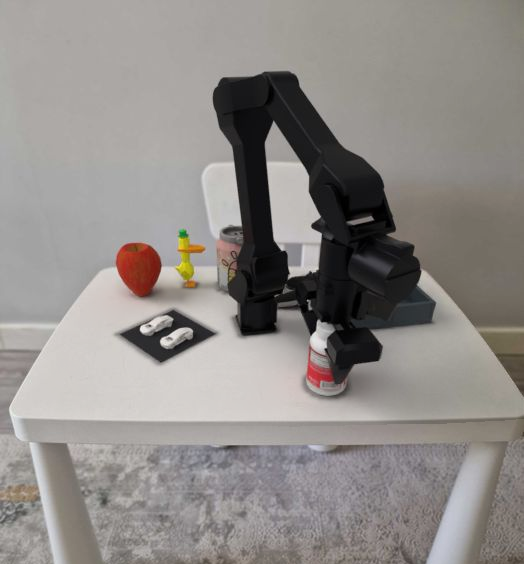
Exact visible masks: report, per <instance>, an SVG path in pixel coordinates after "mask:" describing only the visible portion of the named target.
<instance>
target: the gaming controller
mask: <svg viewBox="0 0 524 564" xmlns="http://www.w3.org/2000/svg"><path fill="white" fill-rule="evenodd" d="M312 280H313V271H311V270H309V271H308V272H307V273H306V274H305V275H295V276H291V277H289V278H288V283H287V284H286V287H287V289H288V288H289V289H291V290H290V291H286V292H283V294H280V295H275V300H276V302H277V304H278V306H277V308H285V307H292V306H296V305H298V306H299V304H298V302H297V300H296V299H295V291H296V287H297V286H298V285H299V284H300V283H301V282H302V281H312Z"/></svg>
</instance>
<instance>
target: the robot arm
mask: <svg viewBox="0 0 524 564" xmlns="http://www.w3.org/2000/svg"><path fill="white" fill-rule="evenodd" d="M299 80H300V79H299V78H298V76H297V75H296V74H295V73H294V72H291V71H289V70H272V71H271V70H269V71H267V70H266V71H263V72H261V73H259V74H256V75H252V76H251V75H249V76H248V75H247V76H223V77H221V78H220V79H219V81H218V83H217V86H216V87H214V89H213V92H212V105H213V109H214V112H215V115H216V119H217V124H218V128H219V130H220V131H221V133H222V134H223V135H224V138H226V140H227V141H228V143H229V145H231V149H232V156H233V165H234V172H235V180H236V181H235V182H236V188H237V189H236V190H237V197H238V207H239V214H240V215H239V216H240V222H241V226H242V232H243V242H244V243H243V245H242V248H241V250H240V252H239V255H238V257H237V260H236V265H237V274H236V275H235V276H234V277H233V278H232V279H231V280H230V281H229V282H228V283H227V287H228V292H227V293H228V296H229V297H230V298H232V299H233V300H234V301H235V302H236V311H237V312H236V313H237V314H236V315H235V317H234V318H235V321H236V323H237V326H238V330H239V332H240V335H242V336H247V335H255V334H263V333H264V334H265V333H275V332H277V326H276V324H277V323H278V307H277V306H278V304H277V302H276V300H275V296H277V295H280V294H283V293H284V291H285V287H286V286H287V283H288V279H289V275H291V273H290V268H289V255H288V252H287V250H282V249H281V247H280V246H279V245H278V244H277V242H276V241H275V237H274V228H273V218H272V217H273V216H272V215H273V214H272V206H271V196H270V195H271V194H270V184H269V174H268V173H269V172H268V161H267V152H266V151H267V150H266V141H267V139H268V137H269V134H270V131H271V129H272V126H273V124H275V126H277V128H278V129H279V131H280V133H281V134H282V136H283V137H284V139H285V140H286V142H287V143H288V145H289V146H290V148H291V149H292V151H293V152H294V154H295V155H296V157H297V158H298V160H299V161H300V163H301V164H302V166H303V168H304V169H305V172H306V173H307V175H308V194H309V197H310V198H311V200H312V203H313V205H314V206H315V209H316V211H317V212H318V214H319V216H320V217H319V218H318V219H317V220H315V221H313V222H312V223H311V225H310V227H311V229H312V230H313V231H316V232H318V233H320V234H321V238H320V249H319V258H318V269H317V270H318V272H316V271H312V273H313V280H312V281H302V282H301V283H300V284H299V285H298V286H297V287H296V291H295V299H296V300H297V302H298V304H299V305H298V304H297V305H298V309H299V310H300V313H301V316H302V319H303V321H304V323H305V326H306V328H307V331H308V333H309V336H310V337H311V336H312V334H313V333H314V332H315V331H316V328H317V321H318V320H320V321H321V323H324V322H325V324H327V325H328V324H332V325H333V326H334V328H335V329H336V331H334V332H333V333H332V334H331V335H329V336H328V337H327V348H324V350H325V354H326V357H327V360H328V364H329V367H330V371H331V374H332V377H333V380H334V383H335V385H338V384H342V383H343V382H344V380H345V379H346V377H347V375H348V376H349V375H350V372H351V371H352V369H353V368H354V366H355V365H362V364H368V363H378V362H379V361H380V360H381V359H382V354H383V351H384V345H383V344H382V343H381V341H380V340H379V339H378V337H377V336H376V334H374V333H373V332H372V331H371V329H368V328H367V327H363V328H356V327H355V326H354V324H353V323H352V319H356V321H360V320H365V317H366V315H368V316H372V317H376V318H380V319H382V320H383V321H389V320H390V318H391V316H392V314H393V313H394V311H395V309H396V307H397V306H398V304H399V303H401V302H402V301H404V300H405V299H406V298H408V297H409V296H410V295H411V293H412V292H413V291H414V289H415V288H416V286H417V285H418V284H419V282H420V280H421V276H422V269H421V262H420V259H419V258H418V257H417V256H414V253H415V248H416V246H415V245H414V244H413V243H411V242H408V241H406V240H399V239H397V238H395V237H392V236H390V234H394V233H396V232H397V226H396V224H395V220H394V218H393V217H394V215H393V213H392V211H391V208H390V204H389V202H388V198H387V195H386V192H385V184H384V180H383V179H382V176H381V174H380V173H379V172H378V171H377V170H376V169H375V168H374V167H373V166H372V165H371V164H370V163H369V162H368V161H367V160H366V159H365V158H363V157H362V156H361V155H358V154H357V153H354V152H353V151H351V150H348V149H347V148H346V147H344V146H343V145H342V144H341V143H340V142H339V140H338V139H337V137H336V136H335V134H334V133H333V132H332V130H331V129H330V128H329V125H328V124H327V123H326V122H325V120H324V119H323V117H322V116H321V114H320V113H319V112H318V110H317V109H316V108H315V106H314V104H312V102H311V100H310V99H309V98H308V96H307V94H305V93H306V92H304V91H303V89H302V87H301V85H300V81H299ZM369 217H372V220H369V221H363V222H360V223H356V224H353V223H350V222H354V221H356V220H362V219H366V218H369Z"/></svg>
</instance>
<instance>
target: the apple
mask: <svg viewBox="0 0 524 564" xmlns="http://www.w3.org/2000/svg"><path fill="white" fill-rule="evenodd" d="M115 267H116V270H117V274H118V276H119V277H120V278H121V281H122V283H123V284H124V285H125V286H126V287H127V288H128V290H129V291H131V292H132V293H133V294H134V295H136V296H138V297H147V296H148V295H149V294H150V293H151V292H152V290H153V288H154V287H155V285H156V283H157V281H158V280H159V277H160V275H161V272H162V267H163V264H162V259H161V256H160V254H159V253H158V251H157V250H156V249H155V248H154V247H153V246H152V245H150V244H147V243H144V242H129V243H126V244H123V245H122V246H121V247H120V248H119V249H118V252H117V254H116V258H115Z"/></svg>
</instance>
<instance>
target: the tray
mask: <svg viewBox="0 0 524 564" xmlns="http://www.w3.org/2000/svg"><path fill="white" fill-rule="evenodd" d="M315 272H318V269H316V270H315ZM436 306H437V301H435V300H434V299H433V298H432V297H431V296H430V295H429V294H428V293H427V292H426V291H424V290H423V288H421V287H420V286H419V285H418V284H417V286H416V288H415V289H414V291H413V292H412V293H411V295H410V296H409V297H408V298H406V299H405V300H404V301H402V302H401V303H399V304H398V306H397V307H396V309H395V311H394V313H393V314H392V316H391V318H390V320H389V321H383V320H382V319H380V318H376V317H372V316H368V315H366V317H365V320H360V321H356V319H352V323H353V324H354V326H355V327H356V328H363V327H367V328H368V329H369V330H375V329H386V328H392V327H402V326H410V325H419V324H420V325H421V324H428V323H429V324H430V323H432V321H433V317H434V313H435V309H436Z"/></svg>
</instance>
